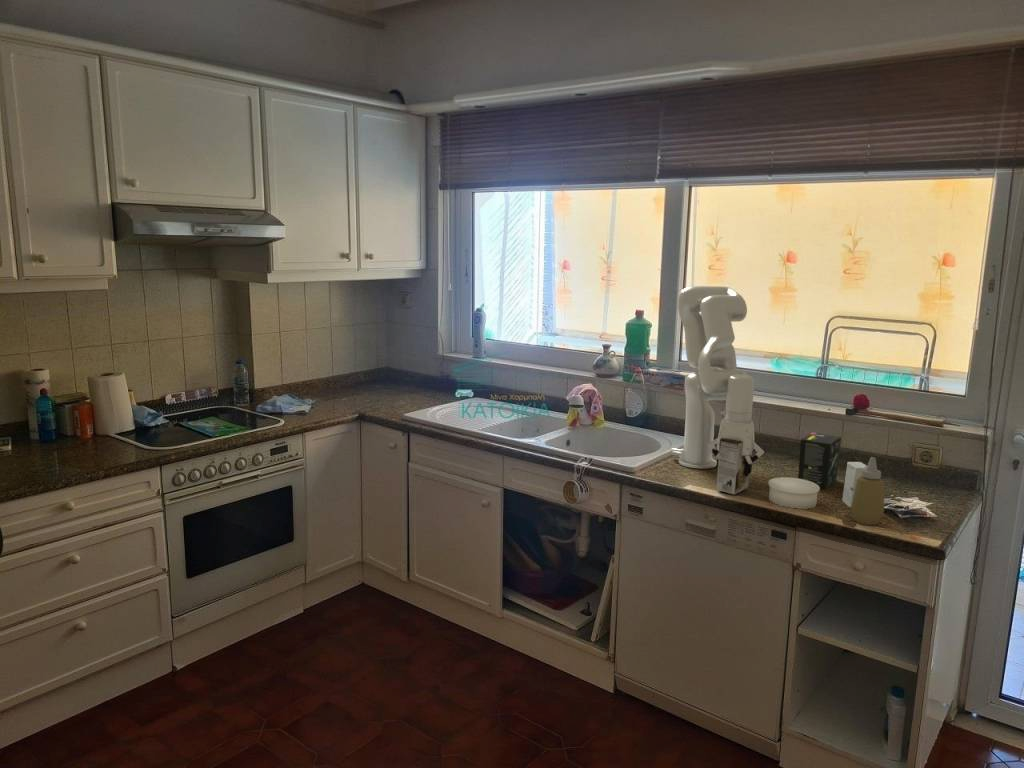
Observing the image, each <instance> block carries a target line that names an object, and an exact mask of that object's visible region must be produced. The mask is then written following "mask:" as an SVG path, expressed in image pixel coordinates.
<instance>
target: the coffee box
mask: <svg viewBox="0 0 1024 768" xmlns="http://www.w3.org/2000/svg"><path fill="white" fill-rule="evenodd" d="M742 450H743V442H741V441H736V440H731V439H723V438H721V439H720V448H719V461H718V468H717V476H716V491H720V492H725V493H728V494H731V495H733V496H734V495H737V494H739V493H740V492H742V491H744V490H746V489H747V488H749V485H750V484H749V482H750V474H749V475H748V476H747V477H746V476H745V467H746V463H747V460H746V458H745V456H742Z"/></svg>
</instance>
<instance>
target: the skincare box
mask: <svg viewBox="0 0 1024 768" xmlns="http://www.w3.org/2000/svg"><path fill="white" fill-rule="evenodd" d="M867 466H868V465H867V464H864V463H863V462H862V461H847V463H846V469H845V470H846V471H845V478H844V484H843V485H844V486H843V492H842V502H843V503H844V504H845V505H846V506H847V507H848V508H851V505H852V501H853V496H854V492H855V487H856V483H857V479H858V477H860V476H862V470H863V469H867ZM851 509H852V508H851Z"/></svg>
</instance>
